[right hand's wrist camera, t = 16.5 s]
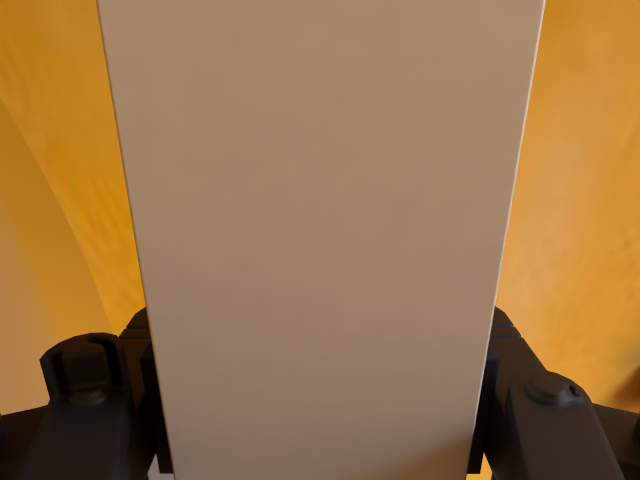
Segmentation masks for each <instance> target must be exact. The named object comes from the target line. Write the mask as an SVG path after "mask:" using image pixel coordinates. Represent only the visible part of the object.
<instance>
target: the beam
mask: <svg viewBox="0 0 640 480" xmlns="http://www.w3.org/2000/svg"><path fill="white" fill-rule="evenodd" d="M545 2H546V0H96V4H97V10H98V16H99V23H100V29H101V35H102V41H103V47H104V53H105V59H106V65H107V71H108V78H109V84H110V90H111V96H112V102H113V108H114V114H115V120H116V126H117V133H118V139H119V145H120V151H121V157H122V163H123V169H124V175H125V181H126V188H127V194H128V200H129V206H130V212H131V218H132V224H133V230H134V236H135V242H136V249H137V255H138V261H139V267H140V273H141V279H142V285H143V291H144V297H145V304H146V310H147V316H148V322H149V328H150V334H151V340H152V346H153V352H154V359H155V365H156V371H157V377H158V383H159V389H160V395H161V401H162V407H163V413H164V420H165V426H166V432H167V438H168V444H169V450H170V456H171V462H172V468H173V475H174V480H466V476H467V470H468V464H469V458H470V452H471V446H472V440H473V434H474V428H475V422H476V416H477V410H478V404H479V398H480V392H481V386H482V380H483V374H484V368H485V362H486V356H487V350H488V344H489V338H490V332H491V326H492V320H493V314H494V308H495V302H496V296H497V290H498V284H499V278H500V272H501V266H502V260H503V254H504V248H505V242H506V236H507V230H508V224H509V218H510V212H511V206H512V200H513V194H514V188H515V182H516V176H517V170H518V164H519V158H520V152H521V146H522V140H523V134H524V128H525V122H526V116H527V110H528V104H529V98H530V92H531V86H532V80H533V74H534V68H535V62H536V56H537V50H538V44H539V38H540V32H541V26H542V20H543V14H544V8H545Z"/></svg>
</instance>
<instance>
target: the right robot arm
mask: <svg viewBox="0 0 640 480" xmlns="http://www.w3.org/2000/svg"><path fill="white" fill-rule="evenodd" d="M40 364H41V368H42V371H43V375H44V378H45V382H46V386H47V389H48V393H49V397H50V401H49V403H48V405H46V406H42V407H38V408H34V409H30V410H25V411H21V412H16V413H11V414H7V415H2V416H1V414H0V480H174V475H173V468H172V462H171V456H170V450H169V444H168V438H167V432H166V426H165V420H164V413H163V407H162V401H161V395H160V389H159V383H158V377H157V371H156V365H155V359H154V352H153V346H152V340H151V334H150V328H149V322H148V316H147V310H146V307H145V308H143V309H142V310H140V311H139V312H137V313H136V314H135V315H134V316H133V318H132V319H131V321H130V322H129V323H128V325H127V326H126V329H124V330H123V332H122V333H121V335H120V336H119V337H118V336H116V335H113V334H109V333H88V334H83V335H79V336H74V337H72V338H69V339H67V340H64V341H62V342H60V343H58V344H57V345H55V346H53V347H52V348H50V349H49V350H47V351H46V353H45V354H44V355H43V356H42V357H41V358H40ZM483 453H485V456H486V458H487V460H488V463H489V465H490V468H491V470H492V477H491V480H640V413H639V414H638V413H633V412H629V411H624V410H619V409H615V408H610V407H605V406H601V405H598V404H594V403H592V402H591V400H590V398H589V397H588V395H587V394H586V392H585V391H584V390H583V388H581V387H580V386H579V385H577V384H576V383H575V382H573V381H572V380H570V379H568V378H566V377H564V376H562V375H560V374H557V373H554V372H550V371H547V370H546V369H545V368H544V366H543V365H542V363H541V362H540V361H539V359H538V358H537V357H536V355H535V354H534V352H533V351H532V350H531V348H530V347H529V346H528V344H527V343H526V341H525V340H524V339H523V338H521V335H520V333H519V332H518V330H517V329H516V328H515V327H513V323H512V322H511V321H510V319H509V318H508V317H507V315H506V314H505V312H503V311H502V310H500V309H499V308H497V307H496V306H495V308H494V314H493V320H492V326H491V332H490V338H489V344H488V350H487V356H486V362H485V368H484V374H483V380H482V386H481V392H480V398H479V404H478V410H477V416H476V422H475V428H474V434H473V440H472V446H471V452H470V458H469V464H468V470H467V474H480V470H481V465H482V459H483Z"/></svg>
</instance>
